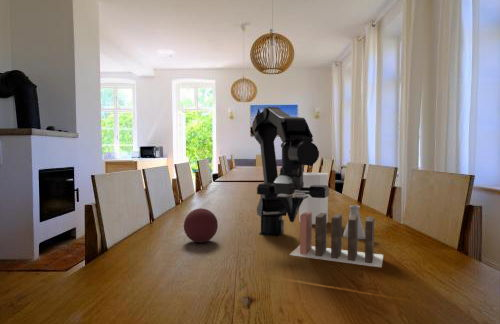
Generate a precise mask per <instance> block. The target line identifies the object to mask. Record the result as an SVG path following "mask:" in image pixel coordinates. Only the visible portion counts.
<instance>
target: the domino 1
mask: <svg viewBox="0 0 500 324" xmlns="http://www.w3.org/2000/svg"><path fill="white" fill-rule="evenodd" d="M312 226H313V225H312V212H305V213H303V214H302V215H300V222H299V245H300V254H307V253H308V252H309V251H310V249H311V248H312V246H313V245H312V242H313V241H312V239H313V237H312V236H313V233H312V232H313V231H312V230H313V227H312Z"/></svg>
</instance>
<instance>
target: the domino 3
mask: <svg viewBox="0 0 500 324" xmlns="http://www.w3.org/2000/svg"><path fill="white" fill-rule="evenodd" d="M330 220H331V228H330V229H331V230H330V233H331V234H330V238H331V240H330V242H331V243H330V244H331V245H330V246H331V247H330V248H331V258H336V259H338V257H339V255H340V254H341V250H343V248H342V244H343V243H342V237H343V233H342V232H343V230H342V229H343V225H342V224H343V223H342V222H343V214H341V213H340V214H339V213H335V214H334V215H333V216H332V217H331V219H330Z"/></svg>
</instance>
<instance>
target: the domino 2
mask: <svg viewBox="0 0 500 324" xmlns="http://www.w3.org/2000/svg"><path fill="white" fill-rule="evenodd" d="M326 219H327V213H320V214H318V215H317V216H316V221H315V225H314V226H315V234H314V237H315V238H314V239H315V241H314V243H315V244H314V245H315V256H321V257H322V255H323V254H324V252H325V251H326V248H327V224H326Z"/></svg>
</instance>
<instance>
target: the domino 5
mask: <svg viewBox="0 0 500 324" xmlns="http://www.w3.org/2000/svg"><path fill="white" fill-rule="evenodd" d="M364 232H365V239H364V253H365V262H366V263H372V261H373V257H374V254H375V253H374V252H375V249H374V248H375V216H367V217H366V219H365V228H364Z"/></svg>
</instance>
